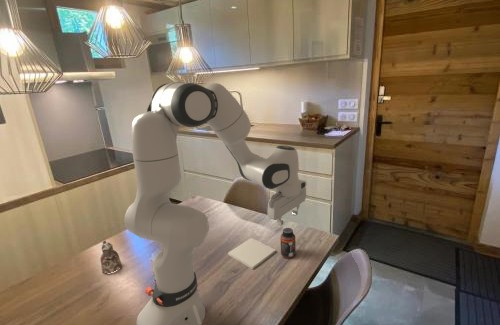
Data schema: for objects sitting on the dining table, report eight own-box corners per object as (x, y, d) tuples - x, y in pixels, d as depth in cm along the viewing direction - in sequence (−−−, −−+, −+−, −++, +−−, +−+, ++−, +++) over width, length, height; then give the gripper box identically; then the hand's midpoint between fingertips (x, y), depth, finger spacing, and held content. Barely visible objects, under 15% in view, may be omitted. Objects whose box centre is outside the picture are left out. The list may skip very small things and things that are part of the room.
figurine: (103, 277, 107) (96, 251, 103) (101, 267, 113) (94, 242, 109) (123, 269, 111) (116, 243, 107) (120, 260, 116) (113, 235, 113)
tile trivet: (252, 269, 106) (252, 267, 106) (228, 254, 116) (228, 252, 115) (275, 251, 116) (275, 249, 115) (251, 239, 125) (251, 237, 125)
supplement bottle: (295, 259, 110) (295, 234, 107) (280, 258, 111) (279, 234, 108) (295, 250, 116) (295, 226, 112) (281, 249, 117) (280, 225, 113)
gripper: (276, 199, 95) (277, 234, 100) (308, 180, 109) (308, 211, 113) (262, 195, 100) (264, 228, 104) (295, 177, 113) (296, 207, 118)
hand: (287, 219), depth 109 cm, fingers open, 8 cm apart
